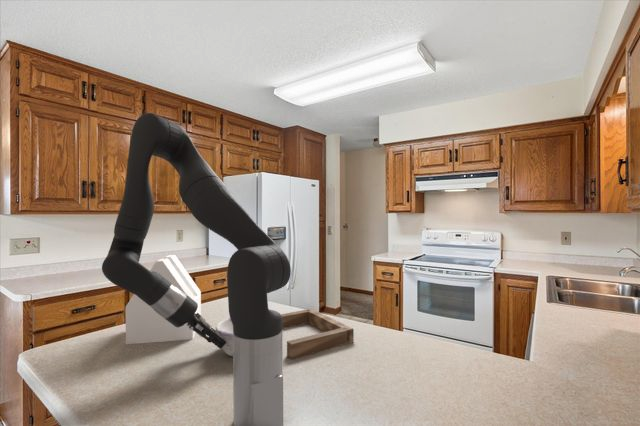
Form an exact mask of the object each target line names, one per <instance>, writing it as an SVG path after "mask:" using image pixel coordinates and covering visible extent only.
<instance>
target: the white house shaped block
mask: <svg viewBox="0 0 640 426" xmlns="http://www.w3.org/2000/svg"><path fill="white" fill-rule="evenodd" d="M149 271H151V272H152V271H154V272H157V273H159V274H160V275H161V276H163V277H164V278H165V279H166V280H168V281H169V282H170V283H171V284H173V285H174V286H176V287H178V288H179V289H180V290H182V291H183V292H184V293H185V294H186V295H188V296H189V297H190V298H191V299H193V300H194V301H195V302H196V303H197V304H198V308H197V310H196V312H195V314H197V313H199V314H200V315H201V316H202V292H201V289H200V288H199V287H198V285H197V284H196V282H195V281H194V280H193V278H192V276H191V275H190V274H189V273H188V271H187V270H186V269H185V266H183V264H182V262H181V261H180V260H179V259H178V256H177V255H176V254H168V255H167V256H164V257H163V258H160V259H158V260H156V261H155V262H154V263H153V265H152V267H151V268H150V270H149ZM187 324H188V323H186V324H184V325H183V326H181V327H175V326H174V325H172V324H171V323H170V322H168V321H167V320H166V319H165V318H163V317H162V316H161V315H159V314H158V313H157V312H155V311H154V310H153V308H152V307H150V306H149V305H148V304H147V303H145V302H144V301H143V300H141V299H140V298H139V297H138V296H137V295H135V294H132V296H131V298H130V299H129V301H128V303H127V304H126V305H125V345H134V344H145V343H147V344H149V343H162V342H177V341H187V340H188V341H189V340H193V339H194V338H195V337H196V334H197V333H196V332H195V331H192V330H191V329H190V328H189V326H187Z"/></svg>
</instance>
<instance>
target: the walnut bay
mask: <svg viewBox="0 0 640 426" xmlns="http://www.w3.org/2000/svg"><path fill="white" fill-rule="evenodd" d="M280 314H281V313H280ZM281 316H282V329H285V328H290V327H291V328H292V327H296V326H300V325H304V324H303V323H305V324H310V325H312V326H314V327H316V328H318V329H320V330H321V331H323V332H320V333H317V334H316V333H315V334H311V335H307V336H304V337H299V338H294V339H291V340H286V356H287V357H288V358H289V359H290V360H292V359H296V358H300V357H304V356H308V355H311V354H314V353H318V352H323V351H325V350H328V349H329V350H330V349H333V348H337V347H340V346H343V345H347V344H351V343H354V342H355V341H354V335H355V333H354V331H355V330H354V328H352V327H351V326H349V325H346V324H344V323H342V322H340V321H337V320H336V319H333V318H331V317H329V316H327V315H326V314H323V313H322V312H319V311H317V310H315V309H313V308H309V309H303V310H298V311H293V312H287V313H282V314H281ZM299 324H300V325H299ZM295 325H296V326H295Z"/></svg>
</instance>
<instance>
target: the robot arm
mask: <svg viewBox="0 0 640 426" xmlns="http://www.w3.org/2000/svg"><path fill="white" fill-rule="evenodd" d="M129 141H130V142H129V148H128V158H127V163H126V174H125V185H124V190H123V191H124V192H123V196H122V200H121V204H120V207H119V209H118V210H119V211H118V214H117V217H116V222H115V223H114V228H113V234H114V235H113V239H112V242H111V244H110V248H109V250H108V253H107V255H106V257H105V259H103V260H104V261H103V262H102V264H101V270H102V271H101V272H102V274H103V275H104V277H105V278H106V279H107V280H108V281H109V282H110V283H112V284H113V285H115V286H117V287H119V288H121V289H122V290H123V291H126V292H129V293H131V294H132V295H134V294H135V295H137V296H138V297H139V298H140V299H141V300H143V301H144V302H145V303H147V304H148V305H149V306H150V307H152V308H153V310H154V311H155V312H157V313H158V314H159V315H161V316H162V317H163V318H165V319H166V320H167V321H168V322H170V323H171V324H172V325H174V326H175V327H181V326H183V325H184V324H186V323H188V324H187V326H189V328H190V329H191V330H192V331H195V332H196V334H197V335H198V336H199V337H201V338H203V339H205V340H206V341H207V343H210V344H211V343H212V344H213V345H214V346H215V347H216V348H219V349H221V348H222V347H223V346H224V345H225V344H226V341H225V340H224V339H222V338H221V337H220V336H219V335H217V333H216V329H214V328H213V327H212V326H211V325H210V323H208V322H207V321H206V319H205V318H204V317H203V316H202V314H201V315H200V314H199V313H197V314H195V312H196V310H197V308H198V304H197V303H196V302H195V301H194V300H193V299H191V298H190V297H189V296H188V295H186V294H185V293H184V292H183V291H182V290H180V289H179V288H178V287H176V286H174V285H173V284H171V283H170V282H169V281H168V280H166V279H165V278H164V277H163V276H161V275H160V274H159V273H157V272H154V271H152V272H151V271H150V270H149V269H148V268H147V267H145V266H144V265H143V264H141V263H140V258H141V255H142V250H143V246H144V242H145V239H146V237H147V235H148V233H149V229H150V227H151V224H152V223H151V222H152V219H153V216H154V212H155V211H154V210H155V199H154V195H153V192H152V187H151V182H150V176H149V175H150V174H149V171H150V170H149V167H150V163H151V160H152V157H157V158H160V159H163V160H165V161H167V162H168V163H169V164H170V165H171V166H172V168H174V169H175V171H176V172H177V173H178V175H179V182H178V191H179V196H180V198H181V201H182V202H183V203H184V205H185V207H187V209H188V211H189V212H190V213H191V215H192V216H193V217H194V218H195V220H197V221H198V222H199V223H200V224H201V225H203V226H204V227H205V228H207V229H208V230H210V231H212V232H213V233H215V234H216V235H218V236H219V237H222V238H223V239H224V240H226V241H227V242H230V244H231V245H233V246H234V248H235V249H236V251H234V252H233V253H232V255H231V256H230V258H229V261H228V265H227V270H226V284H227V300H228V304H227V305H228V314H229V318H230V319H231V321H232V324H233V356H232V359H233V360H232V361H233V362H232V363H233V366H232V367H233V368H232V370H233V371H232V372H233V374H232V377H233V378H232V379H233V381H232V384H233V386H232V387H233V393H232V394H233V398H232V399H233V401H232V402H233V410H232V411H233V426H284V377H283V328H282V316H281V313H280V312H278V311H277V310H274V309H269V301H268V294H270V293H272V292H276V291H278V290H280V289H283V288H284V287H285V286H287V284H288V283H289V282H290V279H291V275H292V273H291V272H292V269H291V264H290V261H289V259H288V256H287V255H286V253H285V252H284V250H283V249H282V248H281V246H279V245H278V244H277V243H276V242H275V241H274V240H273V239H272V238H271V237H270V236H269V235H268V234H267V233H266V232H265V231H264V230H263V229H262V228H261V227H260V226H259V225H258V224H257V222H256V221H255V220H254V219H253V218H252V217H251V215H249V214H248V212H247V211H246V210H245V208H244V207H243V206H242V204H240V202H239V200H237V198H236V197H235V196H234V195H233V193H232V192H231V190H230V189H229V188H228V186H227V185H226V184H225V183H224V182H223V180H222V179H221V178H220V177H219V176H218V174H217V173H216V172H215V171H214V170H213V169H212V167H211V166H210V164H208V162H207V161H206V160H205V159H204V158H203V156H202V155H201V154H200V152H199V151H198V149H197V148H196V145H195V144H194V142H193V141H192V139H191V137H190V135H189V134H188V133H187V131H186V129H185V128H183V127H182V126H181V125H180V124H177V122H174V121H172V120H169V119H167V118H164V117H163V116H160V115H158V114H156V113H153V112H147V113H143V114H141V115H140V116H139V117H138V118H137V119H136V121H135V123H134V125H133V127H132V131H131V135H130V140H129ZM221 350H222V349H221Z"/></svg>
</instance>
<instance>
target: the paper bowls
mask: <svg viewBox="0 0 640 426" xmlns="http://www.w3.org/2000/svg"><path fill="white" fill-rule="evenodd" d="M215 331H216V333H217V335H219V336H220V337H221V338H222V339H224V340H225V341H226V344H225V345H224V346H223V347H222V348H221V350H223V352H224V353H225V354H226V355H228V356H230V357H233V324H232V321H231V319H230V317H228V318H225V319H224V320H221V321H220V322H218V323H217V324H216V326H215Z"/></svg>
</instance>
